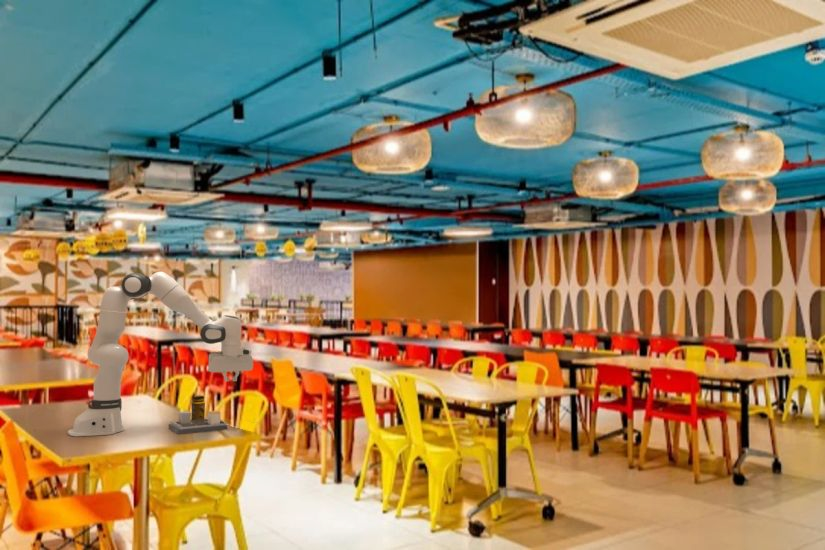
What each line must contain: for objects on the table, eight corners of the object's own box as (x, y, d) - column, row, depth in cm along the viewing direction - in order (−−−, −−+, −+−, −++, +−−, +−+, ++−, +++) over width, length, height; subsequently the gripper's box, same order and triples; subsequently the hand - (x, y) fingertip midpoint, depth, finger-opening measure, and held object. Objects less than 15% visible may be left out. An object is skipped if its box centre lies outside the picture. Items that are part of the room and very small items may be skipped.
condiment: (207, 421, 350) (207, 396, 350) (189, 423, 346) (189, 397, 346) (202, 419, 356) (202, 394, 356) (184, 421, 352) (185, 395, 352)
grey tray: (178, 434, 320) (178, 426, 320) (168, 428, 332) (168, 420, 333) (227, 429, 332) (227, 421, 332) (216, 424, 345) (216, 416, 345)
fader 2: (211, 425, 329) (211, 413, 330) (207, 423, 333) (208, 411, 334) (220, 424, 332) (220, 412, 332) (216, 422, 336) (216, 410, 336)
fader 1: (181, 424, 330) (181, 413, 330) (178, 422, 334) (178, 411, 334) (190, 423, 332) (190, 412, 332) (187, 422, 336) (187, 411, 336)
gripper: (211, 352, 329) (210, 383, 329) (254, 350, 340) (254, 380, 340) (206, 351, 334) (206, 381, 334) (249, 349, 345) (249, 379, 345)
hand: (230, 381), depth 337 cm, fingers open, 2 cm apart
